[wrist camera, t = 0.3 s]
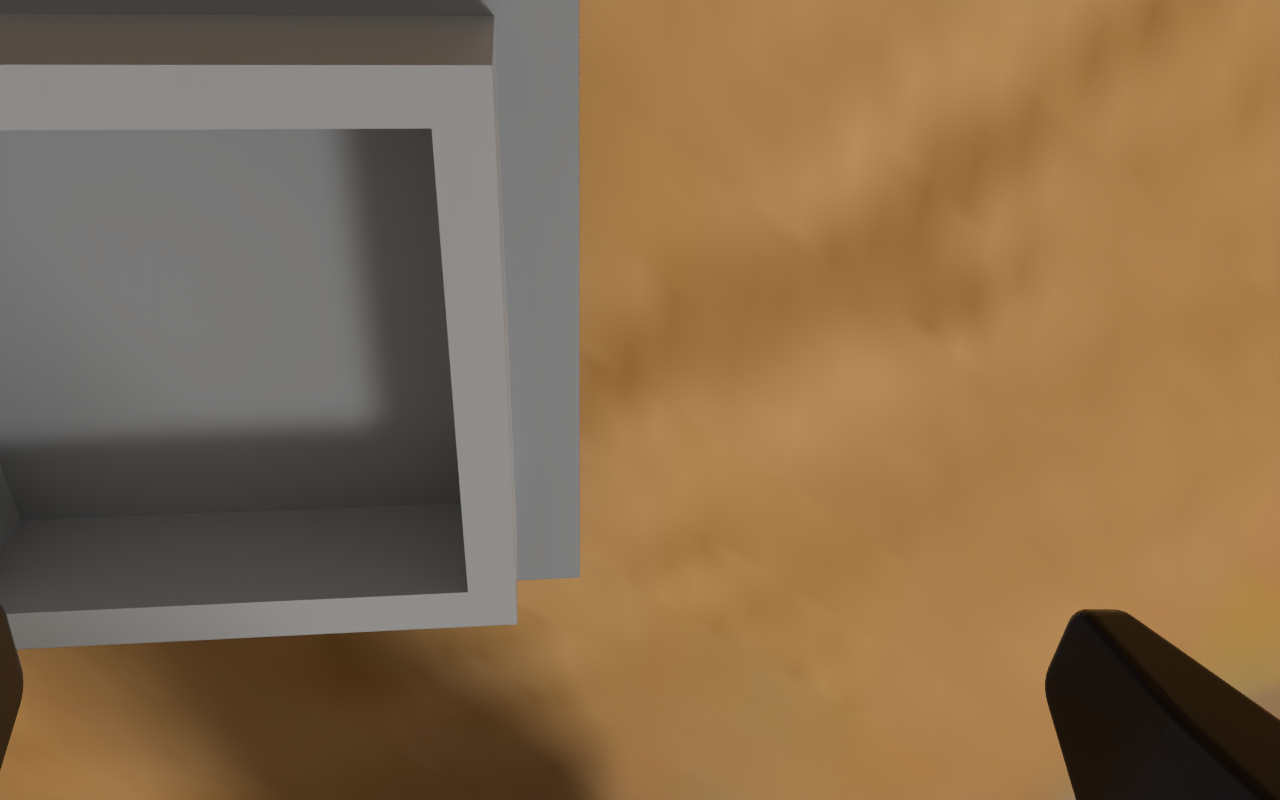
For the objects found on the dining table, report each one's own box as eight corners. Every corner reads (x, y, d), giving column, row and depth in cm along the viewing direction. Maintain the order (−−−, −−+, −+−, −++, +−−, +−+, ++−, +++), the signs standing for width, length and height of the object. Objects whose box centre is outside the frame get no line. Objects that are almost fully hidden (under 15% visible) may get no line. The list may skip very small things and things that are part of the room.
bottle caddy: (577, 550, 28) (586, 668, 24) (-43, 577, 26) (-124, 707, 23) (575, -84, 19) (589, -36, 16) (-332, -97, 18) (-525, -49, 14)
